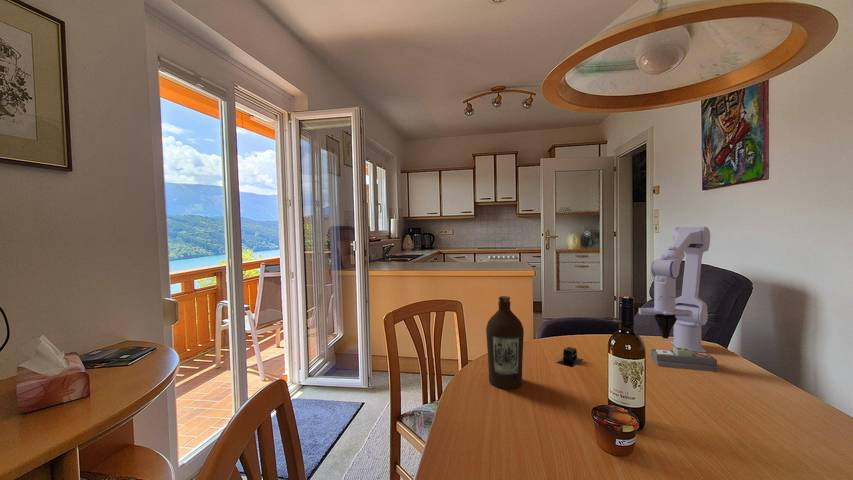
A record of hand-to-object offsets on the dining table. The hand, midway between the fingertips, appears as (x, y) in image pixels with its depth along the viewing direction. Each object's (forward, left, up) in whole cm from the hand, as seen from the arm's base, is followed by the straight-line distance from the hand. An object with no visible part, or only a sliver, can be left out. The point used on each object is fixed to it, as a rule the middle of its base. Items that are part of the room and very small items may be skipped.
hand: (664, 337), depth 112 cm
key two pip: (0, +5, -5) cm, 7 cm away
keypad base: (0, +5, -8) cm, 9 cm away
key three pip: (0, +10, -7) cm, 12 cm away
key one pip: (0, 0, -7) cm, 7 cm away
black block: (+7, -29, -9) cm, 31 cm away
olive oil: (+29, -49, -8) cm, 57 cm away
